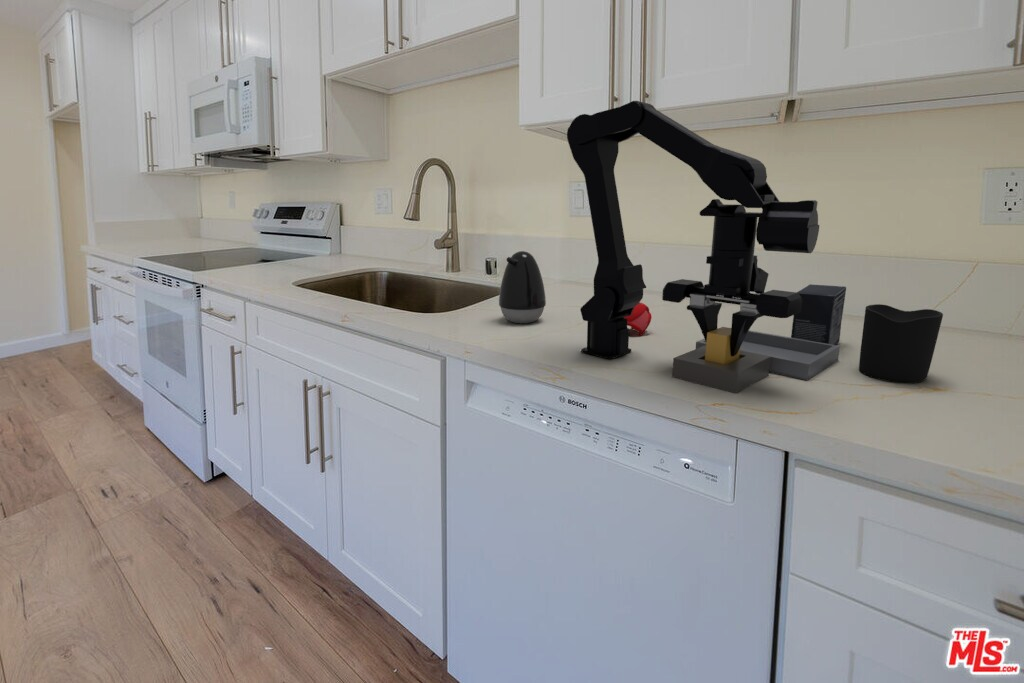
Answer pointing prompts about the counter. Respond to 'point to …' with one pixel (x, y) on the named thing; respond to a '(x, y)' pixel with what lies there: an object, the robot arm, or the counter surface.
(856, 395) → the counter surface
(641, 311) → the cap
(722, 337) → the block
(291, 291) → the counter surface
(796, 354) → the parts tray
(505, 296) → the pump dispenser
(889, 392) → the counter surface
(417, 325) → the counter surface
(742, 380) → the gray square frame
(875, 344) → the pen holder
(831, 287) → the small box
